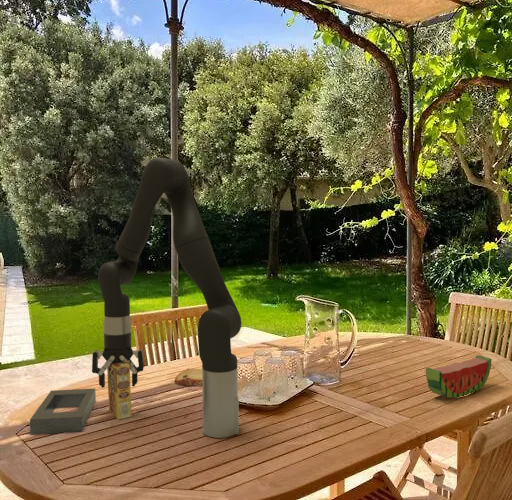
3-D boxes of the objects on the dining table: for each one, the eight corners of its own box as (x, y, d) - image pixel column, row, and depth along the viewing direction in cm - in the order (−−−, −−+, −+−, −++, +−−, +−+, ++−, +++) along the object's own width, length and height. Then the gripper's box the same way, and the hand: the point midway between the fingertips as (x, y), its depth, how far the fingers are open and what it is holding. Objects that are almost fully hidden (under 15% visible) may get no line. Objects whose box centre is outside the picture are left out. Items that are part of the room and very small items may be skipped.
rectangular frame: (95, 401, 161) (95, 388, 160) (81, 431, 139) (81, 416, 139) (51, 403, 159) (51, 390, 159) (30, 434, 137) (29, 419, 137)
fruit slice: (439, 405, 156) (440, 373, 155) (422, 399, 161) (423, 367, 160) (492, 389, 170) (493, 359, 169) (475, 383, 175) (476, 354, 175)
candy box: (132, 417, 148) (131, 364, 147) (117, 420, 146) (116, 366, 145) (121, 407, 156) (120, 356, 155) (107, 410, 153) (106, 359, 152)
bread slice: (241, 377, 184) (241, 366, 184) (213, 393, 168) (213, 381, 168) (199, 369, 193) (199, 359, 192) (169, 384, 177) (169, 373, 177)
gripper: (89, 334, 144) (90, 391, 146) (142, 333, 146) (142, 389, 148) (94, 328, 152) (95, 382, 153) (144, 327, 154) (144, 380, 155)
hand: (118, 386), depth 150 cm, fingers open, 8 cm apart
